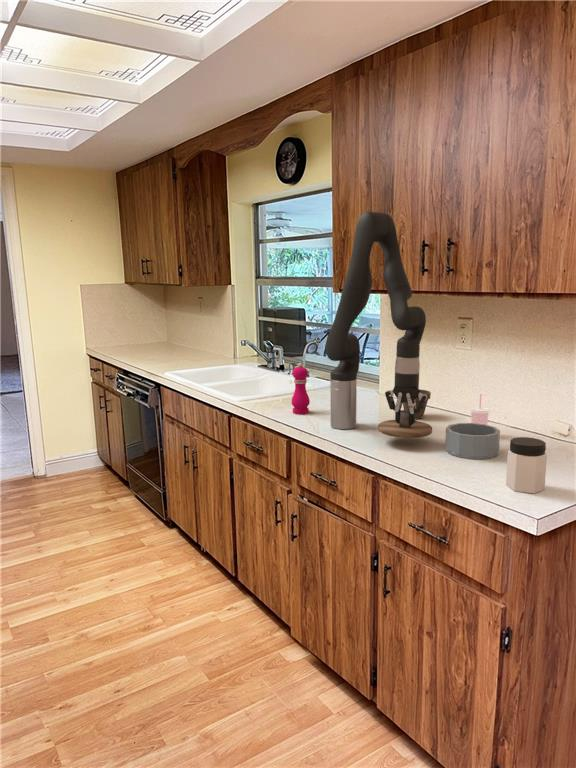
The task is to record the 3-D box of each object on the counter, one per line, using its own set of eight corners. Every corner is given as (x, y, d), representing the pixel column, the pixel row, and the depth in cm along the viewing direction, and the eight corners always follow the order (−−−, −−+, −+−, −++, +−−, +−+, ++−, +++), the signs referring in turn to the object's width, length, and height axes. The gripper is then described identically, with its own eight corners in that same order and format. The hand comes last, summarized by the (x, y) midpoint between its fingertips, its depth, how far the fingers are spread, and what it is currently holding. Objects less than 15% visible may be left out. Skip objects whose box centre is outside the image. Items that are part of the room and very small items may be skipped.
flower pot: (417, 412, 222) (418, 387, 221) (436, 418, 212) (437, 392, 210) (393, 415, 218) (393, 390, 216) (410, 422, 208) (411, 395, 206)
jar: (529, 496, 136) (532, 448, 134) (500, 486, 143) (502, 440, 141) (550, 488, 141) (553, 441, 139) (520, 479, 148) (523, 434, 146)
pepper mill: (299, 415, 220) (298, 364, 217) (288, 412, 226) (287, 362, 222) (313, 412, 224) (313, 363, 221) (302, 409, 230) (301, 361, 227)
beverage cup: (489, 438, 186) (492, 396, 183) (470, 437, 187) (472, 395, 184) (486, 433, 192) (488, 392, 189) (468, 432, 193) (469, 392, 190)
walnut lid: (374, 423, 190) (374, 405, 188) (425, 422, 190) (425, 404, 188) (382, 438, 173) (383, 418, 172) (438, 437, 173) (439, 418, 172)
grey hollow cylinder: (440, 444, 179) (441, 423, 178) (488, 444, 179) (489, 422, 178) (453, 459, 164) (454, 436, 163) (505, 459, 164) (506, 435, 163)
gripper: (433, 371, 177) (430, 424, 181) (389, 367, 184) (388, 418, 188) (425, 374, 171) (423, 429, 174) (381, 370, 178) (379, 423, 181)
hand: (405, 423), depth 181 cm, fingers closed on walnut lid, 3 cm apart
